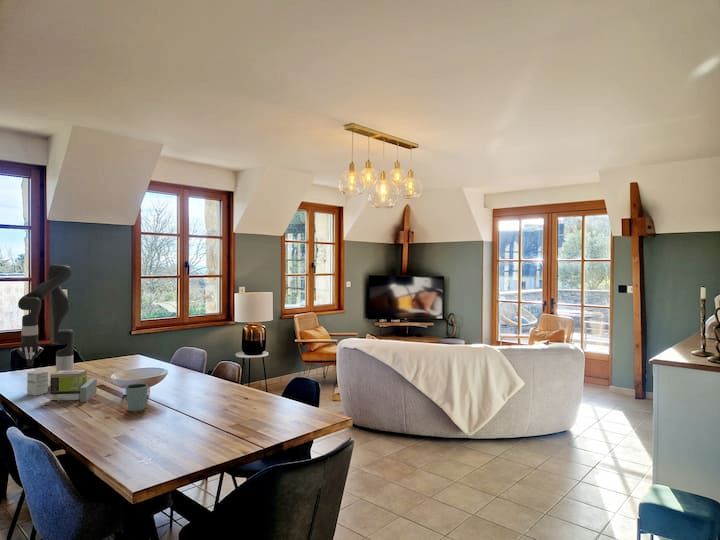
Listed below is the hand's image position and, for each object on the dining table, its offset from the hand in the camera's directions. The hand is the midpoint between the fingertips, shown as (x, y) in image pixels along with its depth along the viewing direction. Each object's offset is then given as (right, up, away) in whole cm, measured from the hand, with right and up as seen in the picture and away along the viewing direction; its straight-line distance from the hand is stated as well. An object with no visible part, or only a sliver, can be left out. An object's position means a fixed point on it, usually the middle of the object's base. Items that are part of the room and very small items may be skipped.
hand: (30, 365), depth 265 cm
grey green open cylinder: (+64, -20, -13) cm, 68 cm away
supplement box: (-5, -19, +13) cm, 24 cm away
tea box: (+18, -19, +5) cm, 27 cm away
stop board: (+27, -19, +8) cm, 34 cm away
